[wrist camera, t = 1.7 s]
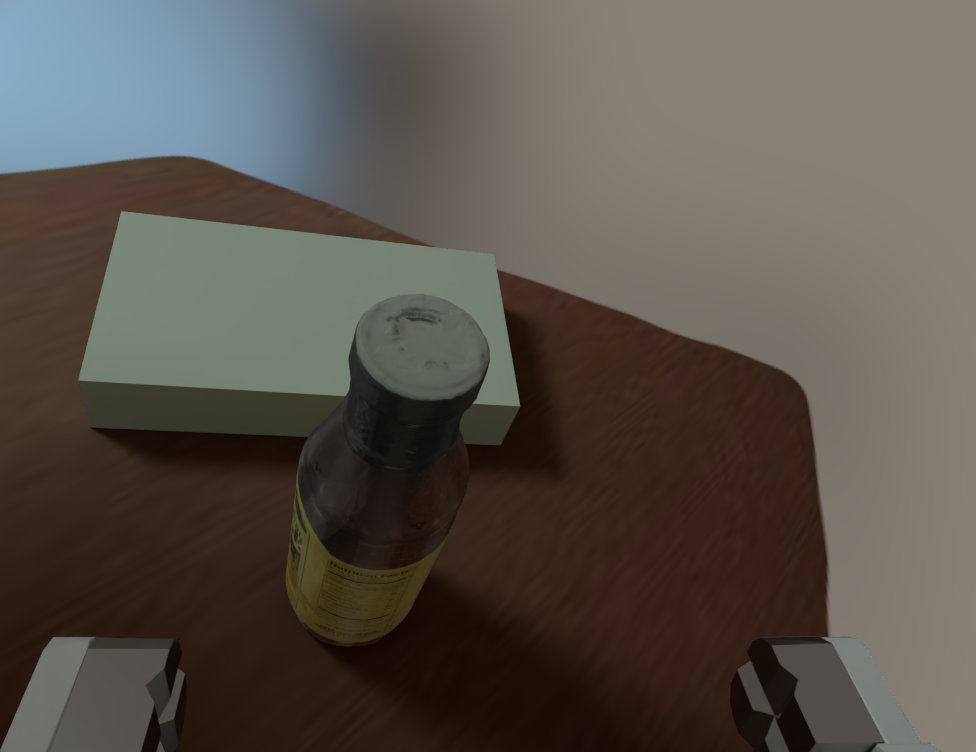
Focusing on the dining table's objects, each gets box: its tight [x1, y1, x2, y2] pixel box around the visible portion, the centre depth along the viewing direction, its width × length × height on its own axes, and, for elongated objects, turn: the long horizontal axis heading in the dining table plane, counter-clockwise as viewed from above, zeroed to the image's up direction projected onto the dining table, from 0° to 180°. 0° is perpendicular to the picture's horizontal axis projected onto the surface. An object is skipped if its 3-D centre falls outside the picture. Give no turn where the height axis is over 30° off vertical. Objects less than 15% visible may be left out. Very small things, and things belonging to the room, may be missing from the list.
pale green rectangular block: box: [78, 211, 520, 445], centre depth 44 cm, size 22×12×4 cm, turn 97°
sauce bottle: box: [286, 294, 490, 646], centre depth 30 cm, size 7×6×20 cm
